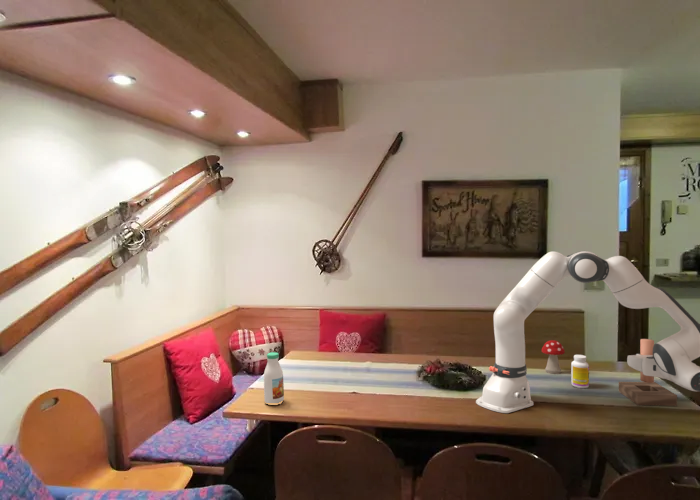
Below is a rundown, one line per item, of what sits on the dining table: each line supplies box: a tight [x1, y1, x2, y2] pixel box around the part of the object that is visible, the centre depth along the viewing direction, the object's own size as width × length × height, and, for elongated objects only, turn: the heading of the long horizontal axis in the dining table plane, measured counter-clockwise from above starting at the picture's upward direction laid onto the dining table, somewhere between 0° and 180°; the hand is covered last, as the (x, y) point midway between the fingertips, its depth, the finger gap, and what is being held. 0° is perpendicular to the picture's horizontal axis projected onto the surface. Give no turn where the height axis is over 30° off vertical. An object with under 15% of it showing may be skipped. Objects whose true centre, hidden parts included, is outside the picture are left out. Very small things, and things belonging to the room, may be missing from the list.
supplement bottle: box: [570, 354, 590, 389], centre depth 187 cm, size 7×7×13 cm
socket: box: [618, 381, 678, 407], centre depth 173 cm, size 14×14×4 cm
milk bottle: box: [263, 351, 285, 403], centre depth 177 cm, size 8×8×20 cm
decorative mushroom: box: [541, 339, 566, 375], centre depth 205 cm, size 10×9×15 cm
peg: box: [639, 338, 655, 383], centre depth 172 cm, size 4×4×16 cm
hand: (645, 355), depth 173 cm, fingers closed on peg, 4 cm apart
